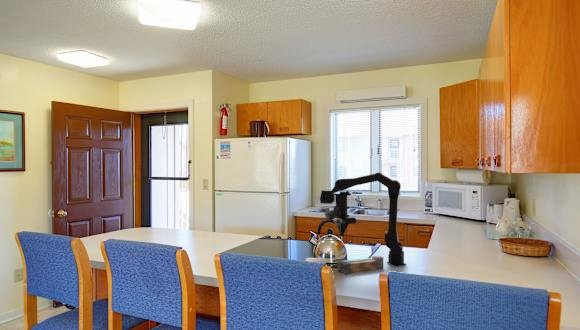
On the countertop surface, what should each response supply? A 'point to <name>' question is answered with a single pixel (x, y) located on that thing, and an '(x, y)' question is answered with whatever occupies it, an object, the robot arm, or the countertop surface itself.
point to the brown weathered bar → (339, 263)
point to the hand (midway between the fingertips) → (341, 235)
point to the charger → (316, 260)
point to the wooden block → (363, 265)
